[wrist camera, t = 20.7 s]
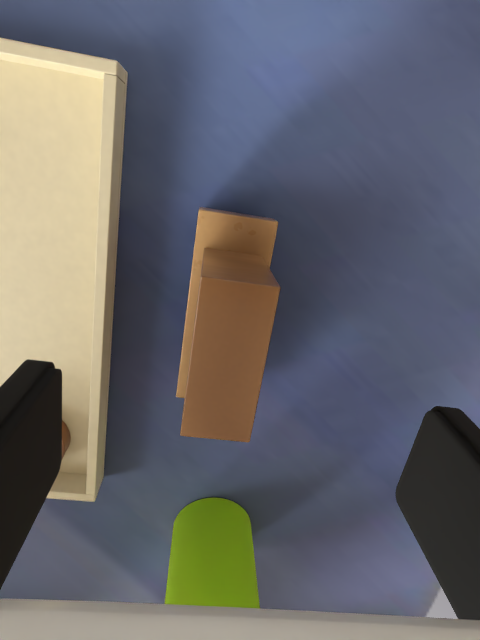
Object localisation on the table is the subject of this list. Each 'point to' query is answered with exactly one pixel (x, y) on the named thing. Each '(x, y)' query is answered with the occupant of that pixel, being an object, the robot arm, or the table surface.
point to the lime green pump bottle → (212, 556)
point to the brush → (227, 324)
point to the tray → (62, 235)
